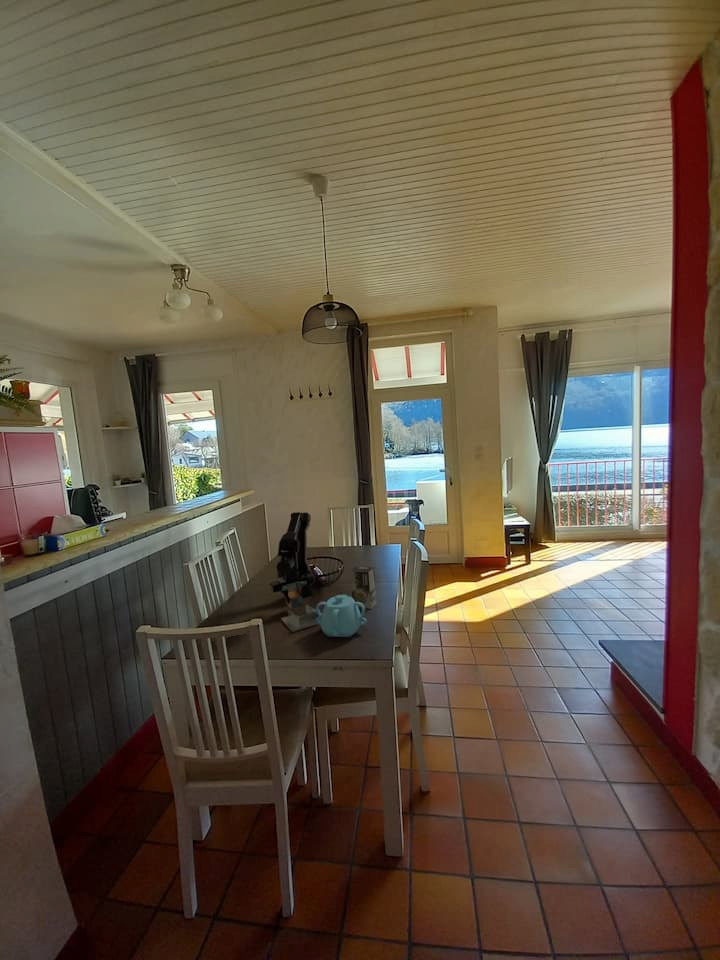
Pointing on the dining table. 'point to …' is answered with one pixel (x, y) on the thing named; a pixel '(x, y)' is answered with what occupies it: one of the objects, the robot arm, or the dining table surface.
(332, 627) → the decorative pot
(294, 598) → the lock block
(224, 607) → the dining table surface
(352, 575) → the coffee box
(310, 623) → the channel
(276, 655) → the dining table surface
